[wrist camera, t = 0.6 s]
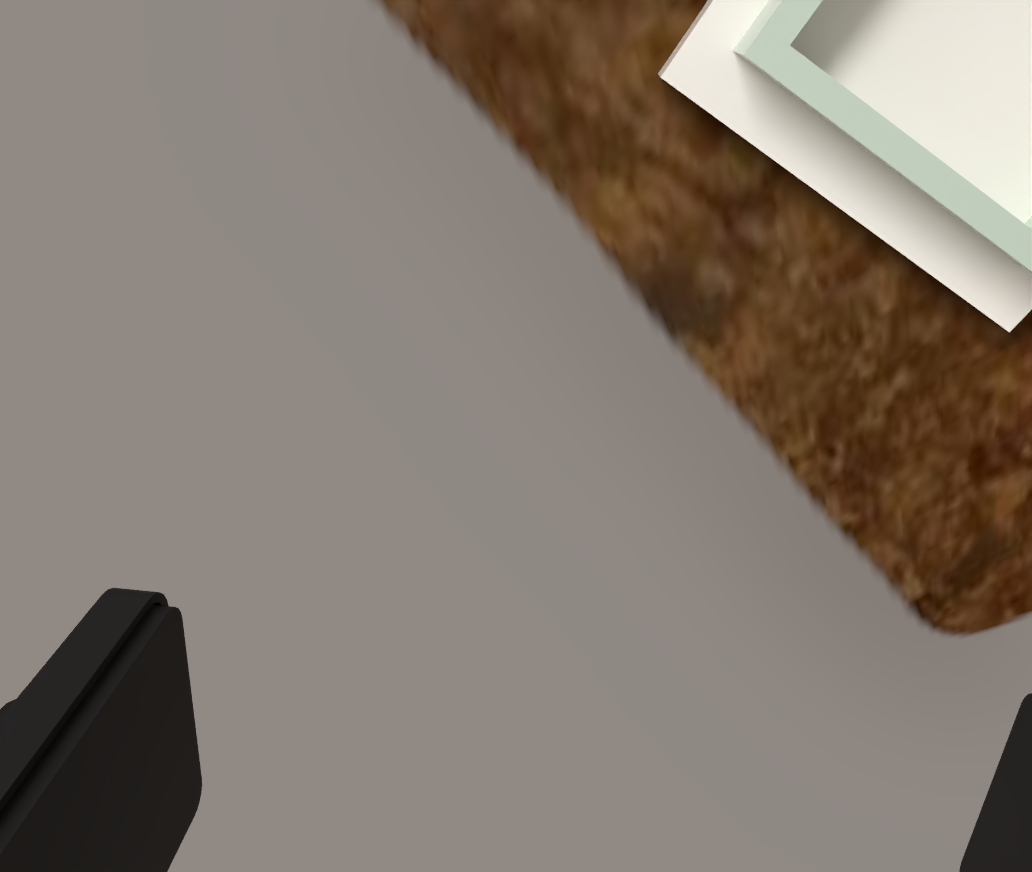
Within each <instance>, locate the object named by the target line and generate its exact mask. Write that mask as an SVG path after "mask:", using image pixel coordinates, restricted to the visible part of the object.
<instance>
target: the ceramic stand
mask: <svg viewBox="0 0 1032 872" xmlns="http://www.w3.org/2000/svg"><path fill="white" fill-rule="evenodd" d="M658 75H659V76H660V77H661V78H662V79H663V80H665V81H666V82H667V83H669V84H670V85H672V86H673V87H674V88H676V89H677V90H678V91H680V92H681V93H682V94H684V95H685V96H687V97H688V98H689V99H691V100H692V101H693V102H695V103H696V104H698V105H699V106H700V107H702V108H703V109H704V110H706V111H707V112H708V113H710V114H711V115H713V116H714V117H715V118H717V119H718V120H719V121H721V122H722V123H724V124H725V125H726V126H728V127H729V128H730V129H732V130H733V131H734V132H736V133H737V134H739V135H740V136H741V137H743V138H744V139H745V140H747V141H748V142H750V143H751V144H752V145H754V146H755V147H756V148H758V149H759V150H760V151H762V152H763V153H765V154H766V155H767V156H769V157H770V158H771V159H773V160H774V161H776V162H777V163H778V164H780V165H781V166H782V167H784V168H785V169H786V170H788V171H789V172H791V173H792V174H793V175H795V176H796V177H797V178H799V179H800V180H802V181H803V182H804V183H806V184H807V185H808V186H810V187H811V188H812V189H814V190H815V191H817V192H818V193H819V194H821V195H822V196H823V197H825V198H826V199H828V200H829V201H830V202H832V203H833V204H834V205H836V206H837V207H838V208H840V209H841V210H843V211H844V212H845V213H847V214H848V215H849V216H851V217H852V218H854V219H855V220H856V221H858V222H859V223H860V224H862V225H863V226H864V227H866V228H867V229H869V230H870V231H871V232H873V233H874V234H875V235H877V236H878V237H880V238H881V239H882V240H884V241H885V242H886V243H888V244H889V245H890V246H892V247H893V248H895V249H896V250H897V251H899V252H900V253H901V254H903V255H904V256H906V257H907V258H908V259H910V260H911V261H912V262H914V263H915V264H916V265H918V266H919V267H921V268H922V269H923V270H925V271H926V272H927V273H929V274H930V275H932V276H933V277H934V278H936V279H937V280H938V281H940V282H941V283H942V284H944V285H945V286H947V287H948V288H949V289H951V290H952V291H953V292H955V293H956V294H958V295H959V296H960V297H962V298H963V299H964V300H966V301H967V302H968V303H970V304H971V305H973V306H974V307H975V308H977V309H978V310H979V311H981V312H982V313H984V314H985V315H986V316H988V317H989V318H990V319H992V320H993V321H994V322H996V323H997V324H999V325H1000V326H1001V327H1003V328H1004V329H1005V330H1007V331H1008V332H1011V330H1012V329H1013V328H1014V327H1015V326H1016V325H1017V324H1018V323H1019V322H1020V321H1021V320H1022V319H1023V318H1024V317H1025V316H1026V315H1027V314H1028V313H1029V312H1030V311H1031V310H1032V0H708V1H707V3H706V4H705V6H704V7H703V9H702V10H701V11H700V13H699V14H698V16H697V17H696V19H695V20H694V22H693V23H692V25H691V26H690V28H689V29H688V31H687V32H686V33H685V35H684V36H683V38H682V39H681V41H680V42H679V44H678V45H677V47H676V48H675V50H674V51H673V53H672V54H671V56H670V57H669V58H668V60H667V61H666V63H665V64H664V66H663V67H662V69H661V70H660V72H659V73H658Z"/></svg>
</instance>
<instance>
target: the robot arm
mask: <svg viewBox="0 0 1032 872" xmlns="http://www.w3.org/2000/svg"><path fill="white" fill-rule="evenodd" d="M201 789H202V777H201V769H200V761H199V753H198V744H197V736H196V728H195V719H194V712H193V703H192V695H191V686H190V678H189V671H188V662H187V654H186V646H185V637H184V628H183V620H182V615H181V612H180V610H179V609H178V608H176V607H169V606H168V603H167V599H166V598H165V596H164V595H163V594H162V593H159V592H150V591H140V590H130V589H119V588H111V589H108V590H107V591H106V592H105V593H104V594H103V595H102V596H101V597H100V598H99V599H98V600H97V602H96V603H95V604H94V605H93V606H92V608H91V609H90V610H89V611H88V613H87V614H86V615H85V616H84V617H83V619H82V620H81V621H80V622H79V624H78V625H77V626H76V627H75V628H74V630H73V631H72V632H71V633H70V634H69V636H68V637H67V638H66V640H65V641H64V642H63V643H62V644H61V646H60V647H59V648H58V649H57V650H56V652H55V653H54V654H53V655H52V656H51V658H50V659H49V660H48V661H47V662H46V664H45V665H44V666H43V667H42V669H41V670H40V671H39V672H38V674H37V675H36V676H35V677H34V678H33V680H32V681H31V682H30V683H29V684H28V686H27V687H26V688H25V689H24V690H23V692H22V693H21V694H20V695H19V697H18V698H17V699H15V700H13V701H11V702H8V703H7V704H5V706H3V707H2V708H1V709H0V872H167V871H168V869H169V867H170V864H171V863H172V861H173V859H174V856H175V855H176V853H177V850H178V848H179V846H180V844H181V842H182V840H183V838H184V836H185V834H186V832H187V830H188V828H189V826H190V824H191V822H192V820H193V818H194V816H195V813H196V811H197V808H198V805H199V801H200V796H201ZM960 872H1032V694H1028V695H1027V696H1026V697H1025V698H1024V699H1023V701H1022V703H1021V706H1020V708H1019V711H1018V714H1017V716H1016V719H1015V722H1014V724H1013V727H1012V730H1011V732H1010V735H1009V738H1008V740H1007V743H1006V745H1005V748H1004V751H1003V753H1002V756H1001V759H1000V761H999V764H998V767H997V769H996V772H995V775H994V777H993V780H992V783H991V785H990V788H989V791H988V793H987V796H986V798H985V801H984V804H983V806H982V809H981V812H980V814H979V817H978V820H977V822H976V825H975V828H974V830H973V833H972V836H971V838H970V841H969V843H968V846H967V849H966V852H965V854H964V857H963V859H962V862H961V866H960Z"/></svg>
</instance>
